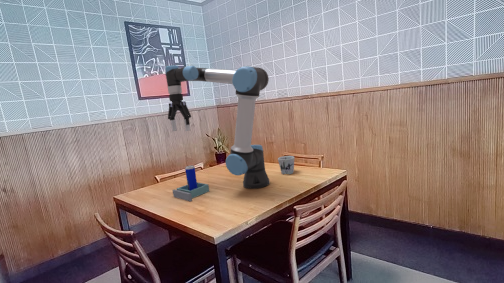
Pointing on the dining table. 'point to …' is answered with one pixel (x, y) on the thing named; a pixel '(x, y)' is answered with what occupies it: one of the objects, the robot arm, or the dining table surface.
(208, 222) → the dining table surface
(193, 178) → the beverage can
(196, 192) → the teal open drawer
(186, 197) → the block
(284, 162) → the mug
